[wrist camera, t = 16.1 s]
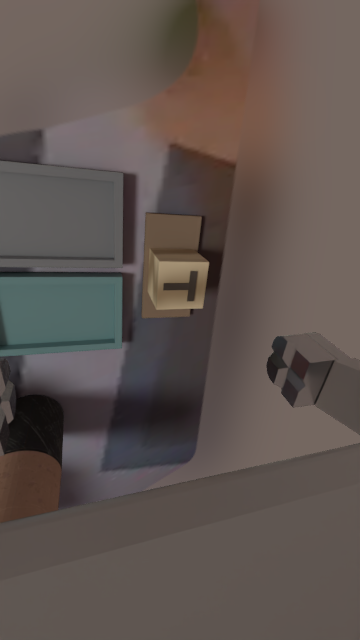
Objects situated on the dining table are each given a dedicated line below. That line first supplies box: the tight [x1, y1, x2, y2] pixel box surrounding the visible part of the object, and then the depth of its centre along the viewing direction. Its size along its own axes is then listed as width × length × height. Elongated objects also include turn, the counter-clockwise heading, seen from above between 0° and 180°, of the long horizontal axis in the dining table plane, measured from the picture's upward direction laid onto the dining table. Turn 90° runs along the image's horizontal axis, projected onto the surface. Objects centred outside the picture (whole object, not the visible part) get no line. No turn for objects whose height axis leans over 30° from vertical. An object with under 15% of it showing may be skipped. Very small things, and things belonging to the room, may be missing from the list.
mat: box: [142, 213, 202, 318], centre depth 34 cm, size 12×6×1 cm, turn 174°
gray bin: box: [0, 160, 123, 268], centre depth 28 cm, size 9×14×2 cm, turn 84°
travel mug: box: [0, 395, 64, 523], centre depth 30 cm, size 8×8×20 cm
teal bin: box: [0, 272, 122, 356], centre depth 32 cm, size 9×14×2 cm, turn 84°
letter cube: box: [148, 248, 209, 310], centre depth 31 cm, size 5×5×5 cm
